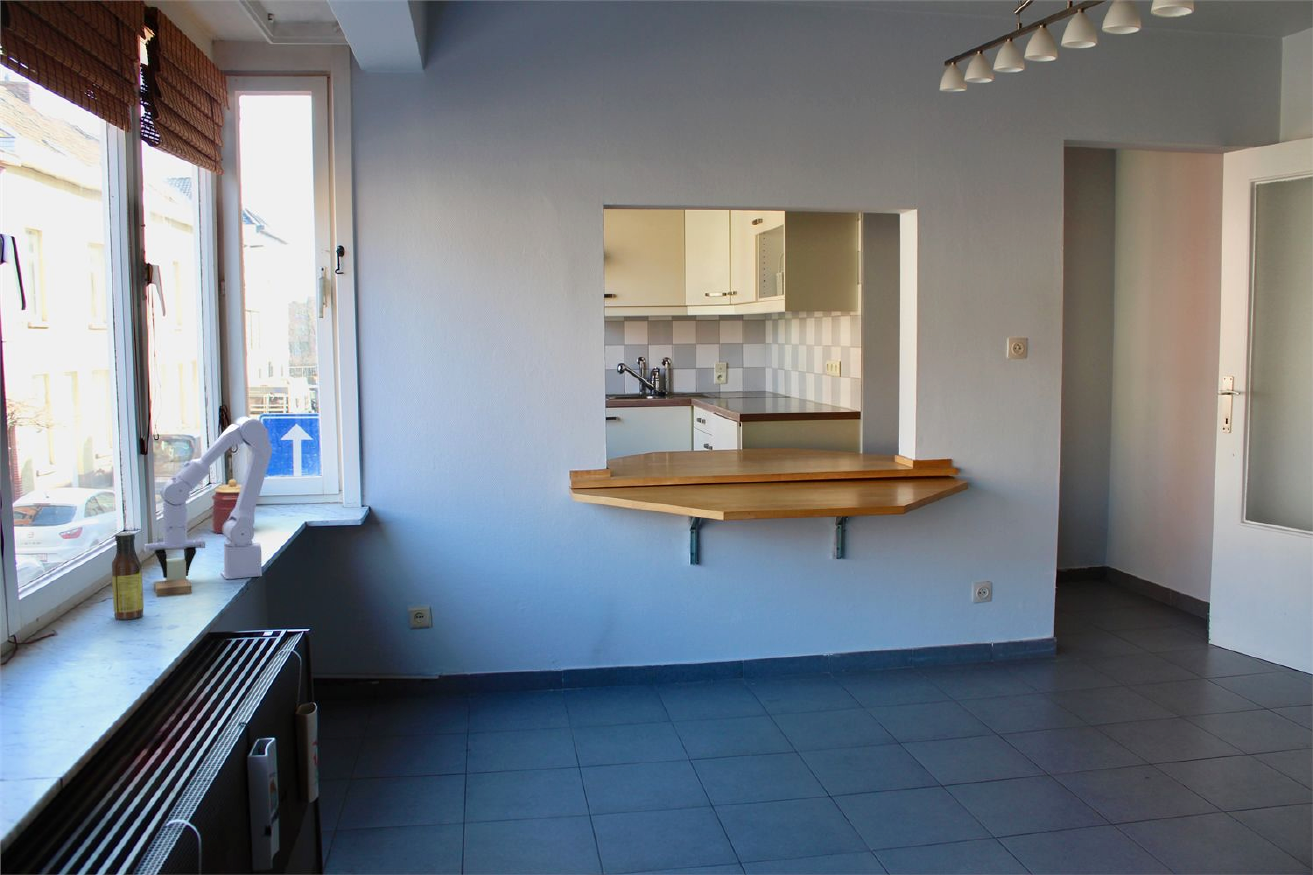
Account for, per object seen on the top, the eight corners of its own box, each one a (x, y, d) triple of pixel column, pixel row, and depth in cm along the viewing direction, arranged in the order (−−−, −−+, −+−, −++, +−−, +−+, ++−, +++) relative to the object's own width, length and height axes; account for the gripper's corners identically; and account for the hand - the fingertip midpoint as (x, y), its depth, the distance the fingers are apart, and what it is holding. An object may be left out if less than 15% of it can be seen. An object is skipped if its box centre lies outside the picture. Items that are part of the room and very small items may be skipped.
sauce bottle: (149, 615, 238) (148, 532, 236) (128, 621, 232) (126, 537, 230) (128, 611, 240) (126, 530, 238) (106, 618, 234) (104, 534, 233)
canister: (243, 535, 334) (243, 482, 333) (205, 533, 334) (204, 481, 333) (259, 527, 347) (259, 477, 346) (222, 526, 347) (221, 476, 346)
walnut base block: (187, 587, 266) (187, 578, 266) (191, 594, 259) (191, 585, 259) (153, 591, 262) (153, 581, 261) (157, 598, 255) (157, 588, 255)
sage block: (183, 579, 273) (183, 557, 272) (186, 583, 269) (185, 561, 269) (165, 581, 271) (165, 559, 270) (167, 584, 267) (167, 562, 266)
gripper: (146, 530, 261) (147, 582, 262) (206, 526, 269) (207, 576, 270) (143, 526, 267) (144, 576, 268) (202, 522, 275) (203, 571, 276)
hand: (175, 576), depth 270 cm, fingers closed on sage block, 4 cm apart
